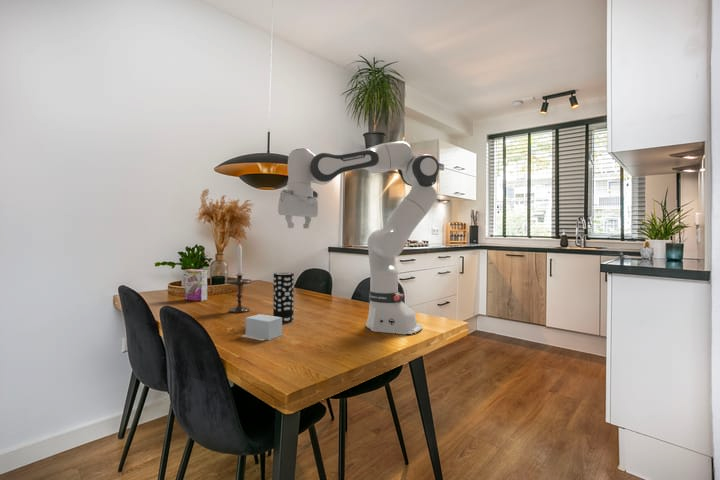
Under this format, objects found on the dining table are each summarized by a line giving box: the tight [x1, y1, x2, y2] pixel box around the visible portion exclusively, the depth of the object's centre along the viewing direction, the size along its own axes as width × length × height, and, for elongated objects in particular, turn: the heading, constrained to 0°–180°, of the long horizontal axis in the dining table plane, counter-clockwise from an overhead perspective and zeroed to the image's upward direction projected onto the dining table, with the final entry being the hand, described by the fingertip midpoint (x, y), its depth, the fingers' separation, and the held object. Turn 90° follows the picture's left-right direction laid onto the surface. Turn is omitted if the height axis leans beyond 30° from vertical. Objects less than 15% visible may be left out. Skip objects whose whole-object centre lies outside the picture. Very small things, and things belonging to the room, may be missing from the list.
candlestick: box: [226, 237, 253, 314], centre depth 170 cm, size 11×11×35 cm
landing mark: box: [241, 334, 266, 342], centre depth 132 cm, size 10×10×1 cm
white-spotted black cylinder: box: [272, 272, 295, 324], centre depth 152 cm, size 8×8×20 cm
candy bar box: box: [184, 268, 208, 302], centre depth 195 cm, size 11×5×16 cm, turn 72°
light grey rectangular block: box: [245, 313, 283, 341], centre depth 131 cm, size 11×7×6 cm, turn 62°
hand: (298, 228), depth 138 cm, fingers open, 8 cm apart
